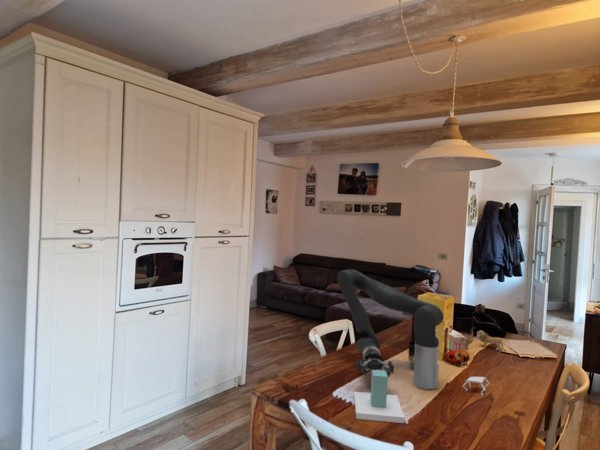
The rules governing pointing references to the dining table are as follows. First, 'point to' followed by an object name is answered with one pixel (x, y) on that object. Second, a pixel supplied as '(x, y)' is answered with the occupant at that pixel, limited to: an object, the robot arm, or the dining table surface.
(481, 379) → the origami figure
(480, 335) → the lion figurine
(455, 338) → the white printed carton
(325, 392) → the dining table surface
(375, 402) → the teal block
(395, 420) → the white board
